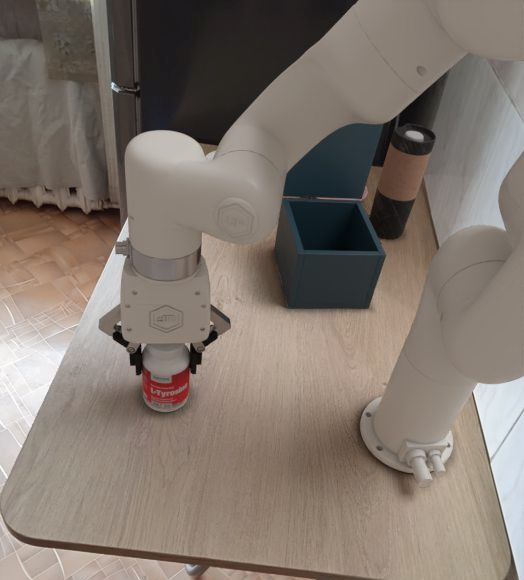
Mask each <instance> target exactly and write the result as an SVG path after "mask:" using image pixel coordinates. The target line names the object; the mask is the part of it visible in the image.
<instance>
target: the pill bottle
mask: <svg viewBox="0 0 524 580" xmlns="http://www.w3.org/2000/svg"><path fill="white" fill-rule="evenodd" d="M141 362H142V374H141V383H142V385H141V386H142V398H143V401H144V403H145V404H146V405H147V407H149V408H150V409H152V410H153V411H157V412H160V413H171V412H175V411H177V410H179V409H181V408H183V406H185V405H186V404H187V402H188V399H189V395H190V380H191V379H190V378H191V377H190V376H191V373H190V348H189V347H188V346H187V344H186V343H165V344H145V345H144V347H143V348H142V355H141Z"/></svg>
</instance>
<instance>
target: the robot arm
mask: <svg viewBox="0 0 524 580" xmlns="http://www.w3.org/2000/svg"><path fill="white" fill-rule="evenodd" d="M468 54H471V55H473V56H476V57H479V58H483V59H489V60H496V61H504V62H505V61H506V62H507V61H510V62H524V0H357V1H356V3H355V4H353V5H352V6H351V7H350V8H349V9H348V10H347V11H346V13H344V15H342V16H341V17H340V18H339V19H338V21H337V22H336V23H335V24H334V25H333V26H332V27H330V29H329V30H328V31H327V32H326V33H325V34H324V36H323V37H321V38H320V40H318V41H317V42H315V43H314V44H313V45H312V46H311V47H309V48H308V49H307V50H306V51H304V53H303V54H302V55H301V56H300V57H299V58H298V59H297V60H296V61H294V62H293V63H292V64H291V65H290V66H288V67H287V68H286V69H285V70H284V71H283V72H281V73H280V74H279V75H278V76H277V77H276V78H275V79H274V80H273V81H272V82H271V83H270V84H269V85H268V86H267V87H266V88H265V89H264V90H263V91H262V92H261V93H260V94H259V96H257V97H256V99H254V101H252V103H251V104H250V105H249V106H248V107H247V108H246V109H245V110H244V112H242V114H241V115H240V116H239V117H238V118H237V119H236V120H235V121H234V122H233V124H232V125H231V126H230V128H229V129H228V130H227V131H226V132H225V134H224V135H223V137H222V138H221V140H220V142H219V143H218V146H217V148H216V150H215V151H216V152H215V155H214V157H213V160H211V161H209V160H207V159H206V158H205V156H206V155H205V152H204V150H203V149H204V148H202V146H201V145H200V143H199V142H198V141H197V140H196V139H194V138H193V137H191V136H190V135H187V134H185V133H182V132H178V131H174V130H165V129H157V130H156V129H155V130H148V131H144V132H142V133H139V134H137V135H136V136H134V137H133V138H132V139H131V140H130V141H129V142H128V144H127V146H126V147H125V151H124V174H125V175H124V177H125V195H126V209H127V226H128V237H126V239H125V240H122V241H115V242H114V251H115V252H114V253H115V255H122V256H123V257H125V258H124V262H123V266H122V271H121V277H120V292H119V293H120V303H118V304H117V305H116V306H114V307H113V308H112V309H110V310H109V311H108V312H107V313H105V314H103V316H101V317H100V318H99V319H98V326H97V327H98V330H99V331H100V332H103V333H104V334H106V336H109V337H111V338H112V340H113V341H114V342H116V343H117V344H119V345H120V346H122V347H124V348H125V351H126V353H128V357H129V358H128V359H129V366H130V367H135V376H136V377H137V376H138V377H139V376H141V375H142V362H141V355H142V351H143V348H142V344H145V345H146V344H165V343H185V344H189V351H190V374H191V375H197V366H202V363H203V353H204V352H205V351H206V347H208V346H209V345H211V344H212V343H214V342H215V341H217V340H218V338H219V336H222V335H223V334H225V333H227V332H228V331H229V330H230V329H232V324H231V318H230V317H229V316H227V315H226V314H224V313H223V312H222V311H221V310H220V309H218V308H217V307H216V306H214V305H213V304H212V303H211V281H210V275H209V269H208V265H207V261H206V258H205V257H204V256H203V255H202V248H203V247H202V245H203V234H205V235H207V236H210V237H213V238H215V239H217V240H220V241H223V242H227V243H229V244H233V245H234V244H235V245H241V246H247V245H248V246H249V245H254V244H258V243H260V242H262V241H264V240H265V239H267V238H268V237H269V236H270V235H271V234H272V233H273V232H274V230H275V229H276V227H277V225H278V221H279V214H280V209H281V203H282V198H284V196H283V190H284V185H285V179H286V174H287V173H288V171H289V170H290V169H291V168H292V167H293V166H294V165H295V164H296V163H297V162H298V161H299V160H300V159H301V158H302V157H303V156H304V155H305V154H306V153H308V152H309V151H310V150H311V149H312V148H313V147H314V146H315V145H317V144H318V143H319V142H320V141H321V140H323V139H324V138H325V137H326V136H328V135H329V134H331V133H332V132H334V131H335V130H337V129H339V128H341V127H343V126H346V125H349V124H353V123H364V124H386V123H389V122H390V121H392V120H393V119H394V118H396V117H397V116H398V115H399V114H401V113H402V112H403V110H405V109H406V108H407V107H409V105H410V104H412V103H413V102H414V101H415V100H417V98H418V97H420V96H421V95H422V94H423V93H424V92H425V91H426V90H427V89H428V88H430V87H431V86H432V85H433V84H434V83H435V82H437V81H438V79H440V78H441V77H442V76H443V75H444V74H445V73H447V72H448V71H449V70H450V69H451V68H452V67H454V66H455V65H457V63H458V62H459V61H460V60H462V58H464V57H465V56H466V55H468ZM497 199H498V200H497V201H498V209H499V213H500V216H501V220H502V222H503V226H504V228H501V227H499V226H496V225H492V224H491V225H490V224H476V225H470V226H467V227H464V228H462V229H460V230H458V231H456V232H455V233H453V234H452V235H450V236H449V237H448V238H447V239H445V240H444V241H443V243H442V244H441V245H440V246H439V248H438V249H437V250H436V252H435V254H434V255H433V257H432V260H431V262H430V264H429V267H428V271H427V273H426V276H425V280H424V284H423V289H422V293H421V296H420V300H419V304H418V307H417V310H416V313H415V316H414V318H413V322H412V324H411V327H410V329H409V331H408V334H407V335H406V338H405V341H404V343H403V345H402V348H401V350H400V351H399V355H398V357H397V360H396V362H395V365H394V367H393V370H392V372H391V374H390V377H389V379H388V381H387V384H386V386H385V389H384V392H383V393H382V396H379V397H376V398H373V400H372V401H370V402H369V403H368V404H367V405H366V407H365V408H364V410H363V412H362V414H361V418H360V420H359V431H360V436H361V438H362V440H363V443H364V444H365V446H366V447H367V450H369V451H370V453H371V454H372V455H373V456H374V457H375V458H376V459H378V460H379V461H380V462H381V463H383V464H384V465H386V466H388V467H390V468H392V469H394V470H397V471H399V472H403V473H408V474H413V476H414V478H415V479H414V480H415V481H416V484H417V486H418V487H419V488H427V487H429V486H431V485H432V484H433V483H434V480H433V479H434V478H433V477H432V475H431V472H434V476H436V477H438V478H439V477H443V476H445V475H446V474H447V469H446V467H445V465H444V464H446V462H447V461H448V459H449V458H450V456H451V454H452V452H453V450H454V444H455V443H454V437H453V436H454V435H453V432H452V428H453V426H454V425H455V423H456V421H457V420H458V418H459V416H460V415H461V412H462V411H463V409H464V408H465V406H466V404H467V403H468V401H469V399H470V397H471V395H472V394H473V392H474V391H475V389H476V388H477V386H478V384H483V385H499V384H502V385H503V384H506V383H510V382H514V381H516V380H519V379H521V378H524V150H523V151H522V152H521V154H520V155H519V156H518V158H517V159H516V160H515V161H514V163H513V164H512V166H511V167H510V169H509V170H508V171H507V173H506V175H505V176H504V178H503V179H502V182H501V184H500V187H499V189H498V198H497ZM119 323H120V324H119ZM211 323H213V324H211Z"/></svg>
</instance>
